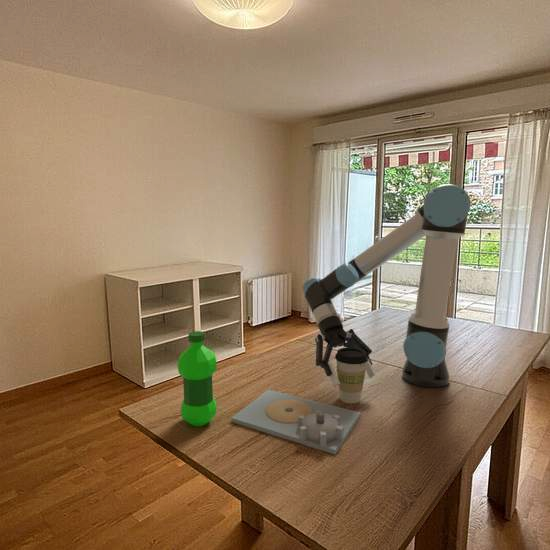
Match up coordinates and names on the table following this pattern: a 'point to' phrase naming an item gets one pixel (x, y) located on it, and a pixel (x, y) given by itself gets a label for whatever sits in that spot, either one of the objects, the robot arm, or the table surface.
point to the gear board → (299, 420)
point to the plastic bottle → (197, 381)
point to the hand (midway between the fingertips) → (355, 381)
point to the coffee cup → (351, 373)
